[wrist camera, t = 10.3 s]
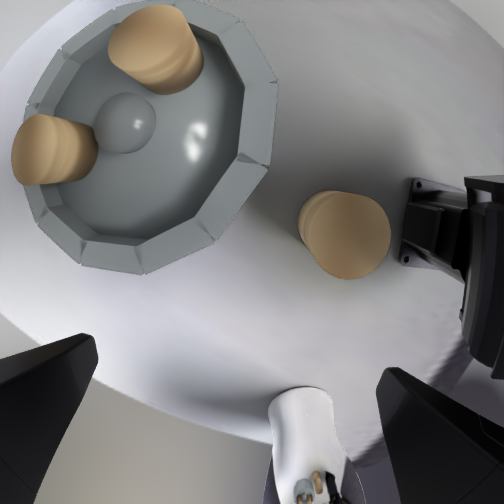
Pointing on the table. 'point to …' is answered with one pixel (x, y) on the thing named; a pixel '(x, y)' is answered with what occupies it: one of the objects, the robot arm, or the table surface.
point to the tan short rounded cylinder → (53, 150)
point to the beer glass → (308, 453)
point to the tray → (156, 144)
